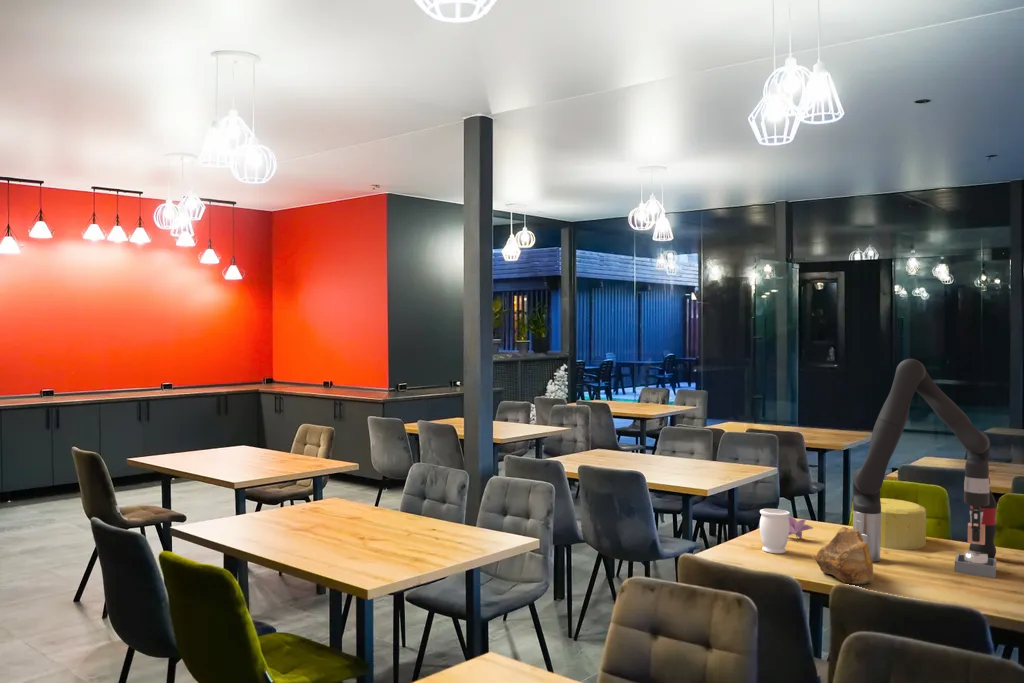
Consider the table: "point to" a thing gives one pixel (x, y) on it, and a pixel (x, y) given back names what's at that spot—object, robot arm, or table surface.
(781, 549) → the jar
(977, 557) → the tin
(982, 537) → the pink block
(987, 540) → the cola bottle
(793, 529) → the lily
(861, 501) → the robot arm
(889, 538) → the cheese
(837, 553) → the rough brown rock
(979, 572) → the tote
